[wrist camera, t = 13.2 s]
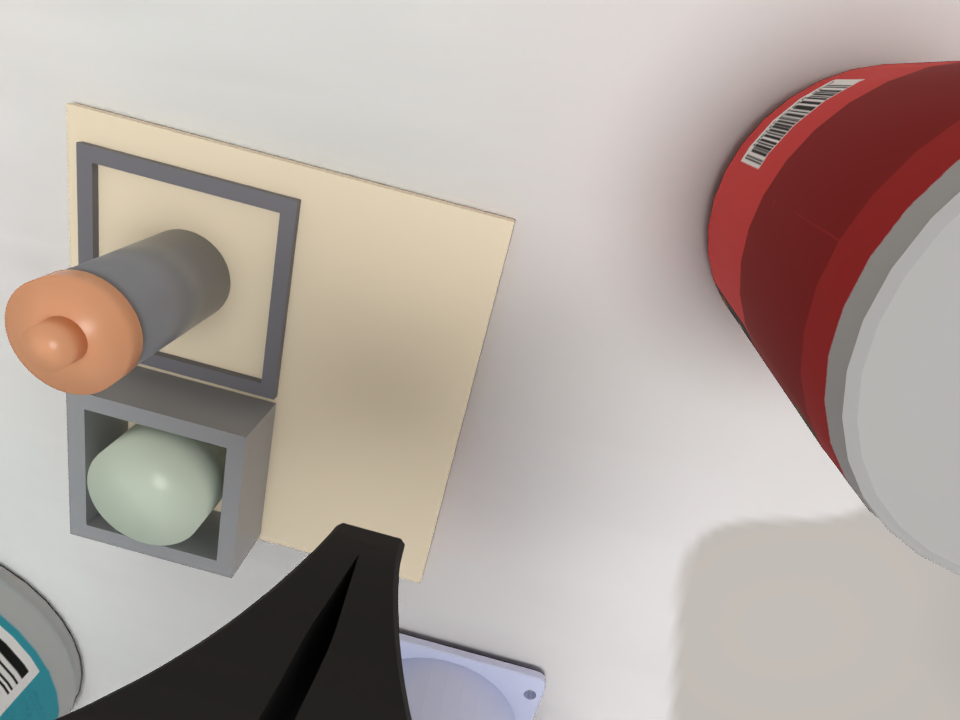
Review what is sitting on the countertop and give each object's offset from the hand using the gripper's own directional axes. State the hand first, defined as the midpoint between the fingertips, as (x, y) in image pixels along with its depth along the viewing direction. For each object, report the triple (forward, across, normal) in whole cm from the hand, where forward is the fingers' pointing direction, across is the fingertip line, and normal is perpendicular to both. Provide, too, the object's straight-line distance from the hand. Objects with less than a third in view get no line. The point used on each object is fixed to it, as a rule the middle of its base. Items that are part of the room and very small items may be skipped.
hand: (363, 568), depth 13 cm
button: (+9, +9, +6) cm, 14 cm away
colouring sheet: (+10, +6, +2) cm, 12 cm away
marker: (+10, +9, -1) cm, 13 cm away
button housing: (+10, +8, +6) cm, 14 cm away
